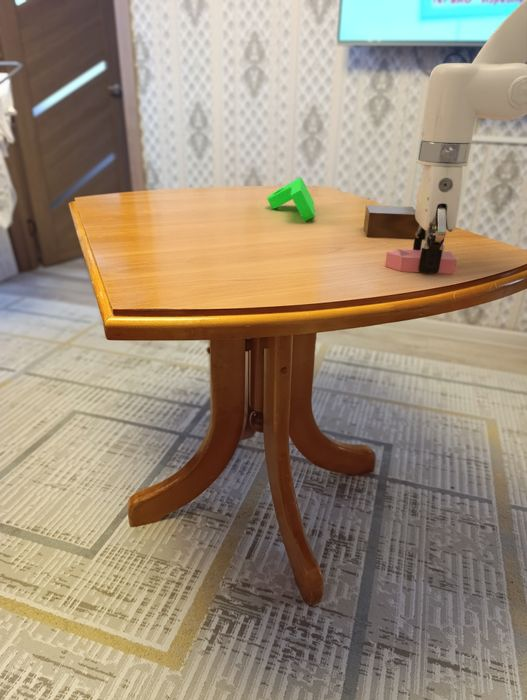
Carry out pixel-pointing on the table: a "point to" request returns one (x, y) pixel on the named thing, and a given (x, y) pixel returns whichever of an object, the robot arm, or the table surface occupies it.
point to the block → (390, 222)
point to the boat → (418, 260)
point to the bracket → (294, 198)
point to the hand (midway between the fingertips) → (424, 265)
